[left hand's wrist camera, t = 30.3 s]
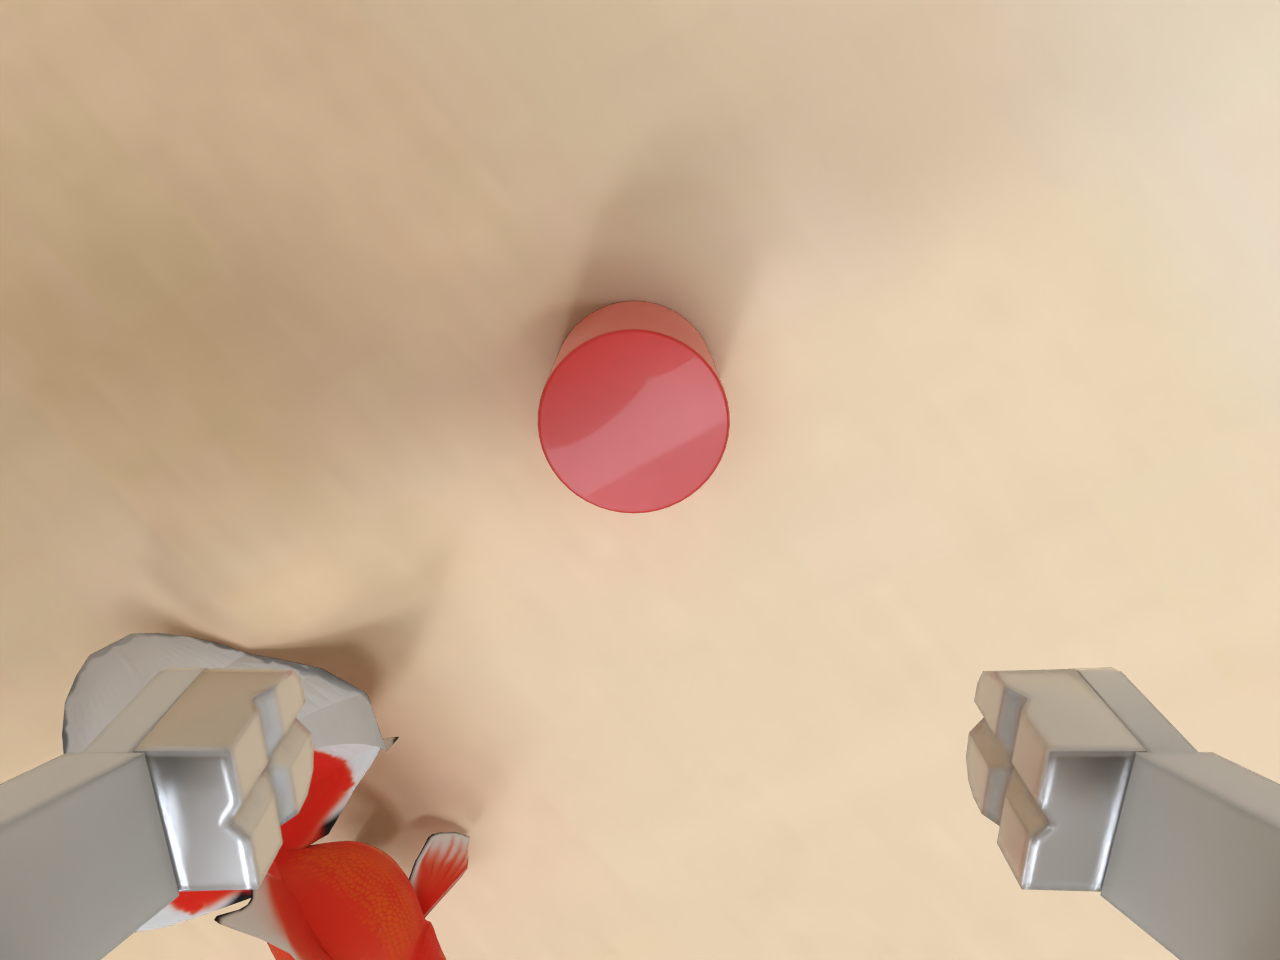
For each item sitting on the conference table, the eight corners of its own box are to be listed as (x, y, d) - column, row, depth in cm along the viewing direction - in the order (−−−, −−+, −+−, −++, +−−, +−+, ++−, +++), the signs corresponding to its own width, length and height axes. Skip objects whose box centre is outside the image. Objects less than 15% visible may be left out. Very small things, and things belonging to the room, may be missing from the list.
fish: (222, 1104, 29) (82, 1338, 19) (84, 674, 31) (-109, 692, 21) (518, 958, 31) (524, 1102, 22) (373, 565, 33) (319, 535, 23)
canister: (737, 423, 26) (756, 474, 21) (592, 479, 26) (584, 540, 22) (679, 274, 24) (688, 298, 20) (527, 337, 25) (505, 374, 21)
